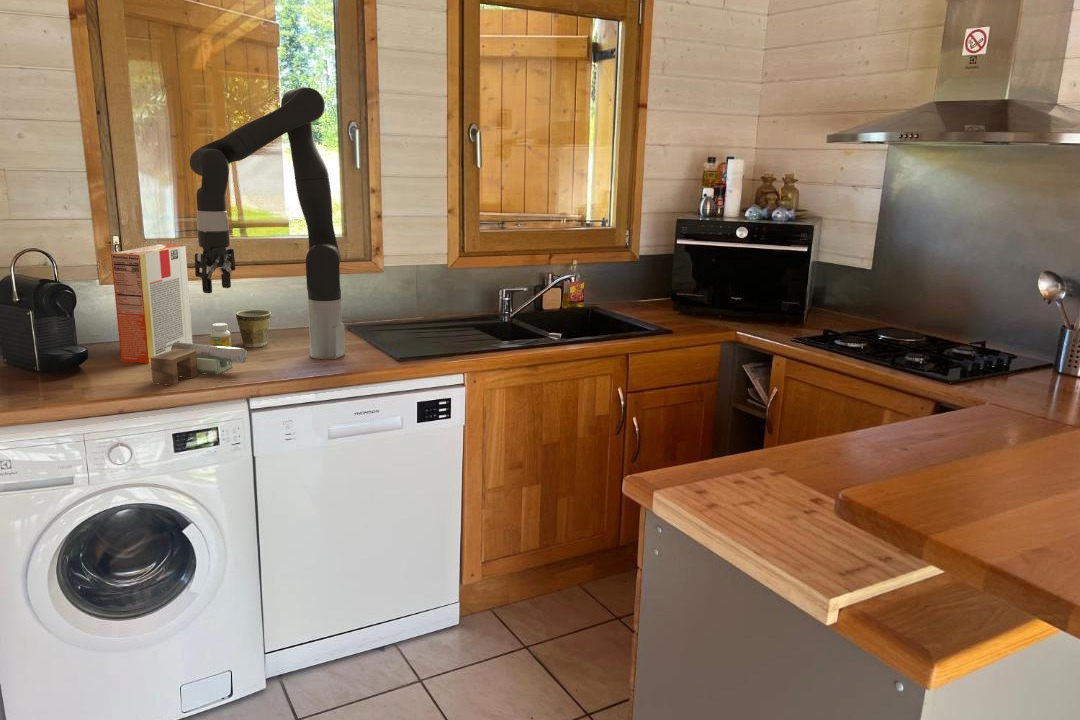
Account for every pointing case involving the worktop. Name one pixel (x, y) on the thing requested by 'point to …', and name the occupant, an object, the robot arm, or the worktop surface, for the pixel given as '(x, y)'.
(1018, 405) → the worktop surface
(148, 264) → the pasta box
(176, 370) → the brown arch block
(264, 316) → the ceramic cup
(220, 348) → the axle
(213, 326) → the supplement bottle
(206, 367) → the light green ridged block
